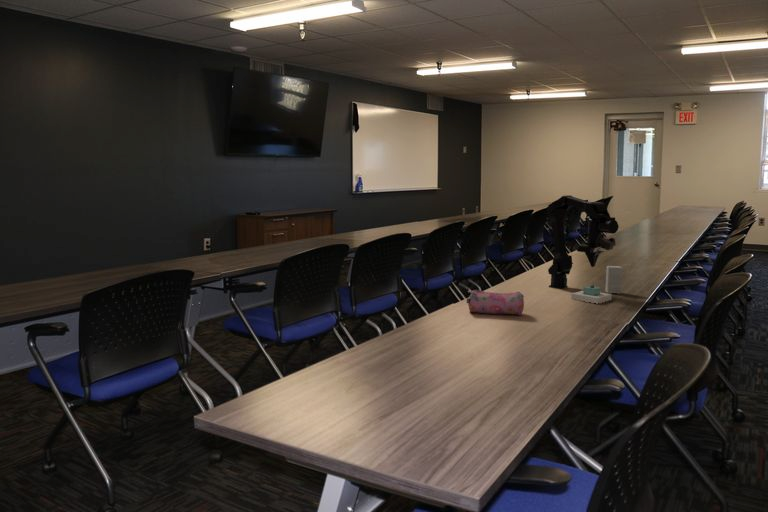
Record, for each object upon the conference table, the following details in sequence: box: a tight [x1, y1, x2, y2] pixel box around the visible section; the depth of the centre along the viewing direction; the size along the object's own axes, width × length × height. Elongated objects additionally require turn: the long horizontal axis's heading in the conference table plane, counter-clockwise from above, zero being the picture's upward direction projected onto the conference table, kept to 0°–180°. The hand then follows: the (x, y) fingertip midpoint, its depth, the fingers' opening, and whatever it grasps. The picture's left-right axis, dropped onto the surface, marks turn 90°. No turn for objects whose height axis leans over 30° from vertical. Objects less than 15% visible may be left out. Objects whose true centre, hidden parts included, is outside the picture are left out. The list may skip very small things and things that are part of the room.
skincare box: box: [604, 265, 623, 295], centre depth 274 cm, size 6×4×12 cm
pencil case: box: [466, 289, 525, 316], centre depth 233 cm, size 21×9×9 cm, turn 77°
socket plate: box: [570, 290, 613, 305], centre depth 260 cm, size 12×12×2 cm
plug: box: [582, 284, 601, 296], centre depth 259 cm, size 5×5×6 cm
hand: (592, 266), depth 265 cm, fingers closed
